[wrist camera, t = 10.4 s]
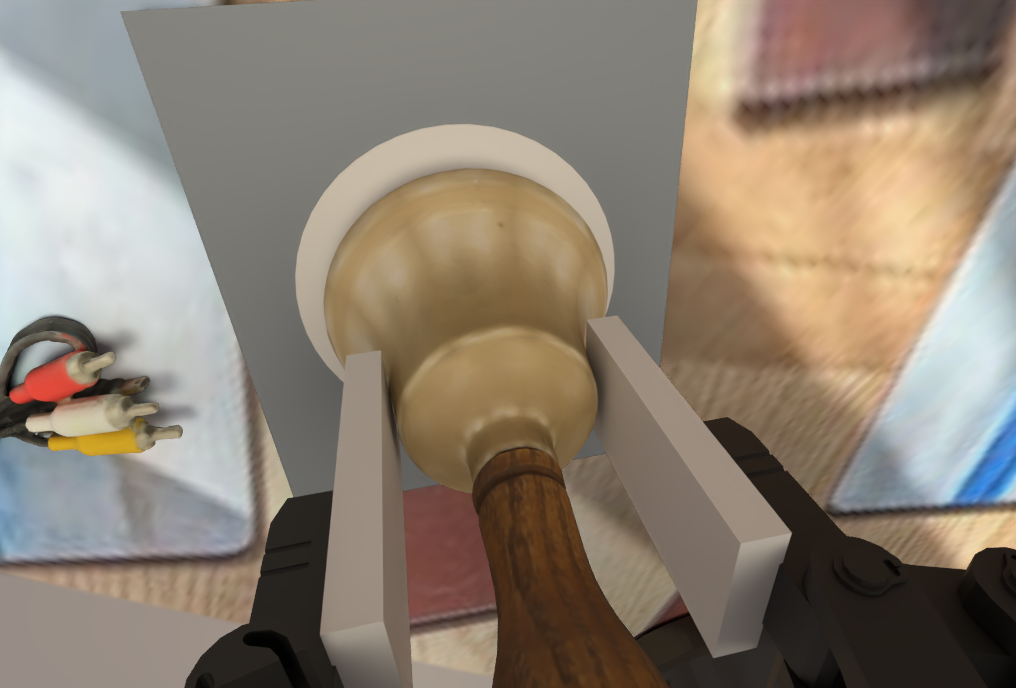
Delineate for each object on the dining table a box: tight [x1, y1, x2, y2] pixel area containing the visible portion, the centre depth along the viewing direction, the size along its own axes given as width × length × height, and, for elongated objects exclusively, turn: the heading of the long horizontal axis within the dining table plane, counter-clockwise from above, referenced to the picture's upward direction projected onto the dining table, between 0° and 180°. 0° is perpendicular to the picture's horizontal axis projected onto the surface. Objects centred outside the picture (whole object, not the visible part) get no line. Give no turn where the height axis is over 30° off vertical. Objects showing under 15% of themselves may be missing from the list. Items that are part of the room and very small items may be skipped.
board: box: [121, 0, 698, 497], centre depth 18 cm, size 16×14×1 cm
